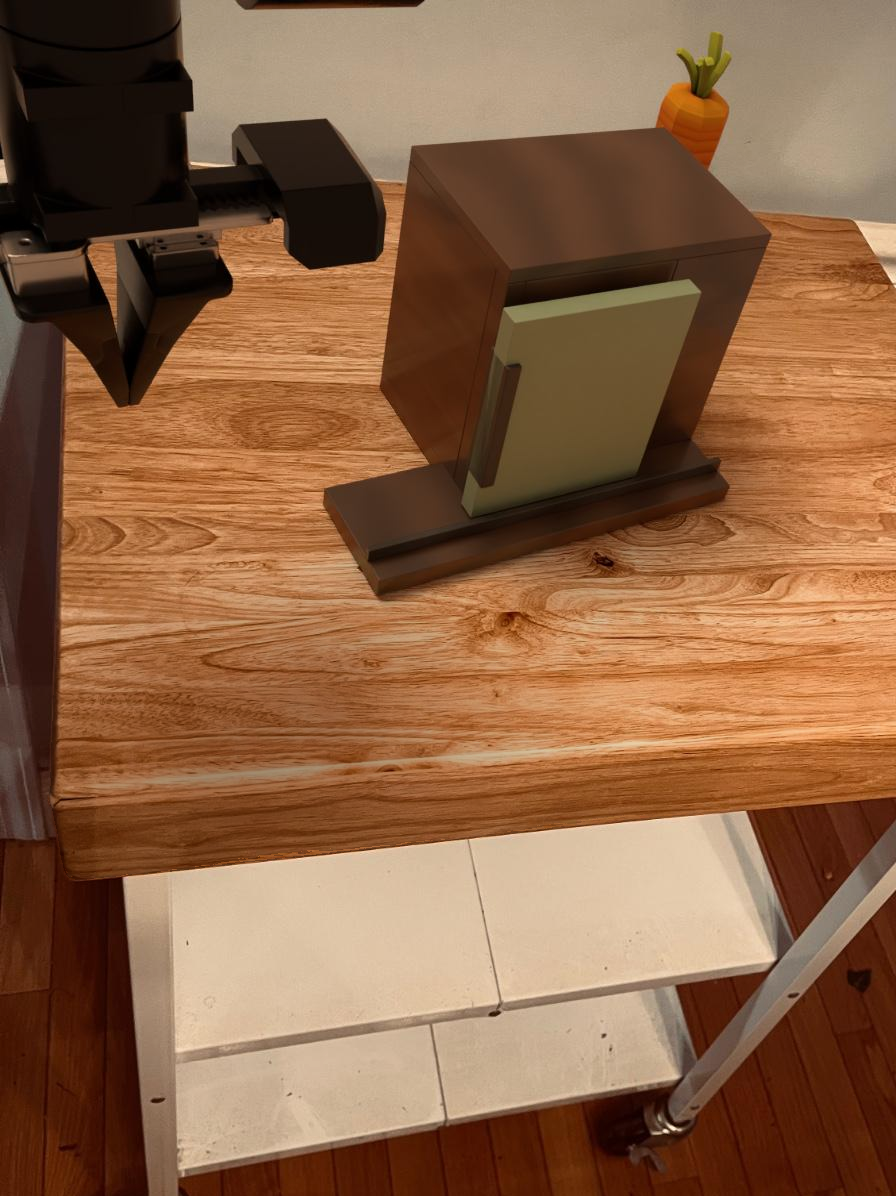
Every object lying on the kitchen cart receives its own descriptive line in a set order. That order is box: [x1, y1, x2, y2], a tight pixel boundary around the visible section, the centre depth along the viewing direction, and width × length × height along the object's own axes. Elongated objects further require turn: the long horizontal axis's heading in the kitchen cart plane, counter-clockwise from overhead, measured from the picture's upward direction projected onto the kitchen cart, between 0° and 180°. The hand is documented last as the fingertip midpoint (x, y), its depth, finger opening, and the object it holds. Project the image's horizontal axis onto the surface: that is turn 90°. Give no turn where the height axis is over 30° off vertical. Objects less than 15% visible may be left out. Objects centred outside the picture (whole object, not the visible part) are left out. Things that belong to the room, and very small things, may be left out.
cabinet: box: [322, 127, 773, 597], centre depth 64 cm, size 23×15×16 cm, turn 123°
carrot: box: [654, 30, 733, 171], centre depth 85 cm, size 5×5×15 cm
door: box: [462, 279, 701, 518], centre depth 63 cm, size 11×2×13 cm, turn 123°
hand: (125, 399), depth 47 cm, fingers closed
